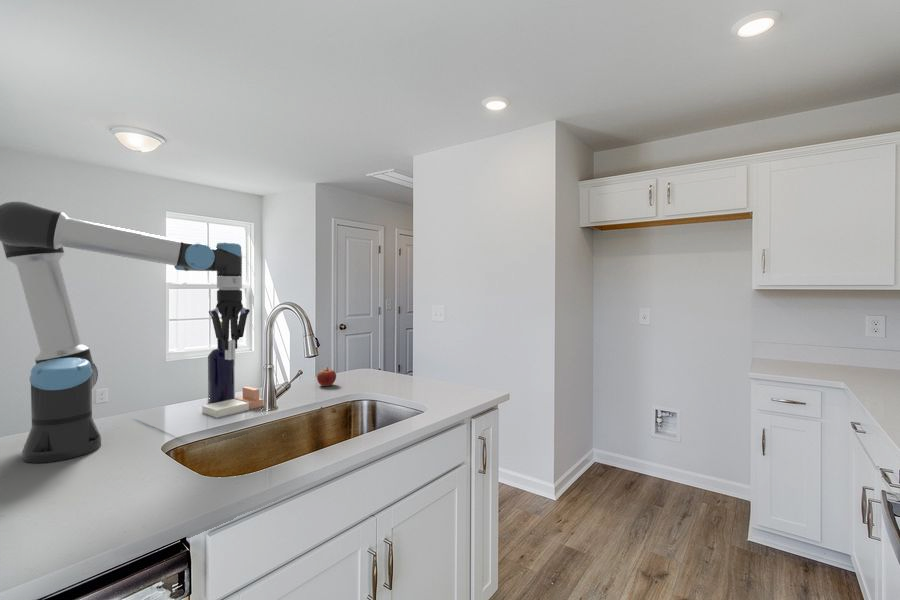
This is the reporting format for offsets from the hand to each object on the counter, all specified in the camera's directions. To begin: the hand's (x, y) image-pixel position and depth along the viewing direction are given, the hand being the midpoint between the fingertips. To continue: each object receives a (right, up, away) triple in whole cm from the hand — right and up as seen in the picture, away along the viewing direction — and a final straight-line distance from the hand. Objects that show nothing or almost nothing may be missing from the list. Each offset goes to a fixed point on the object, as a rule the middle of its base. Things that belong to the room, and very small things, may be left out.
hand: (230, 359), depth 146 cm
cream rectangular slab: (-1, -17, -1) cm, 17 cm away
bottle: (-10, -18, +13) cm, 24 cm away
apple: (+21, -18, +42) cm, 50 cm away
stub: (+4, -17, +6) cm, 19 cm away
